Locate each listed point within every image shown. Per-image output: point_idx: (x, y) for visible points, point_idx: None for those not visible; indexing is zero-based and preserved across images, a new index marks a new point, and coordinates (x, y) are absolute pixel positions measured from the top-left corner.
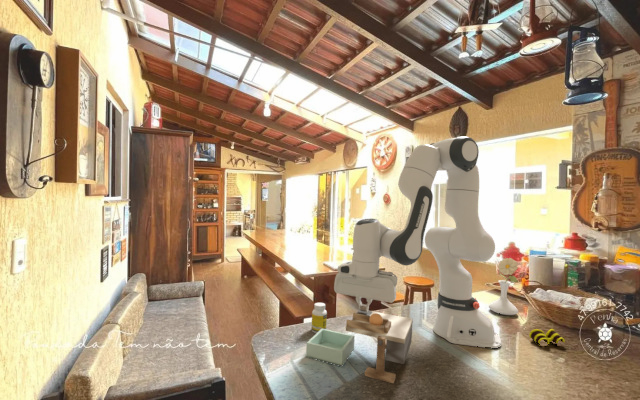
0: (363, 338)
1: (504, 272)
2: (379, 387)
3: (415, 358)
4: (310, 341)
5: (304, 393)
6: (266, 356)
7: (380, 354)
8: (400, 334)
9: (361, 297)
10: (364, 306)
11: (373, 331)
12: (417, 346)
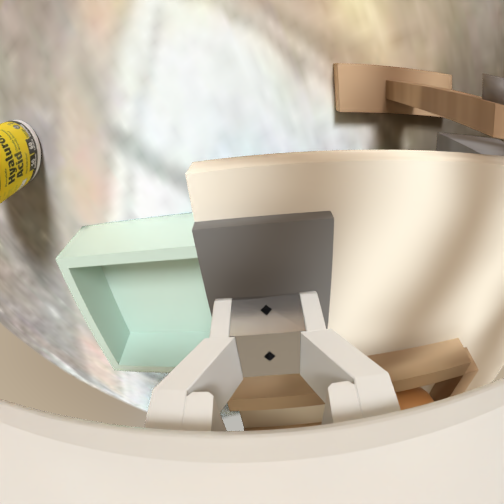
0: (221, 71)
1: None
2: None
3: None
4: (115, 361)
5: (227, 415)
6: (65, 361)
7: None
8: (484, 376)
9: (213, 407)
10: (288, 372)
11: None
12: (476, 44)
